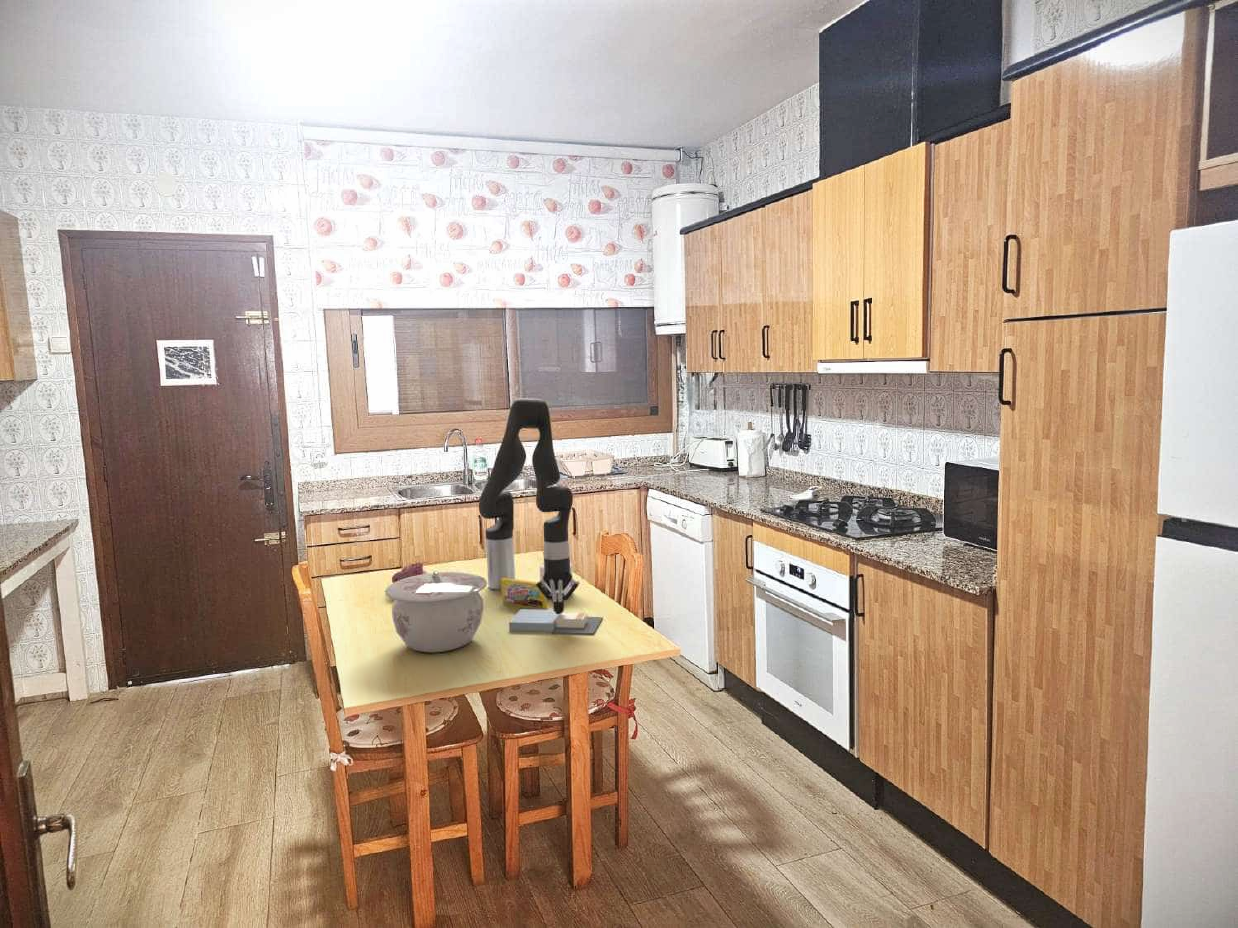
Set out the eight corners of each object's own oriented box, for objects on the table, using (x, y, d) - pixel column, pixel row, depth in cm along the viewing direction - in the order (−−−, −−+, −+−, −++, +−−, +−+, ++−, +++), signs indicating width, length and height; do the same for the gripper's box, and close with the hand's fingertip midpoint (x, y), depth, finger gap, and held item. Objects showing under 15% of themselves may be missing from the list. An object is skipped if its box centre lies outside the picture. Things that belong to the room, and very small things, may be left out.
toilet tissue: (553, 601, 259) (552, 571, 258) (532, 594, 268) (530, 564, 267) (579, 594, 266) (578, 564, 264) (558, 587, 275) (556, 558, 273)
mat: (563, 617, 243) (563, 616, 242) (602, 618, 241) (602, 616, 241) (552, 633, 229) (552, 631, 229) (593, 634, 227) (593, 633, 227)
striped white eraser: (560, 620, 238) (560, 612, 238) (587, 621, 237) (586, 612, 237) (556, 627, 233) (555, 618, 232) (583, 627, 231) (582, 619, 231)
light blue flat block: (521, 617, 244) (520, 609, 244) (562, 618, 242) (562, 610, 242) (509, 630, 232) (508, 622, 232) (553, 631, 230) (553, 623, 230)
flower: (442, 577, 281) (432, 551, 278) (432, 594, 267) (421, 568, 264) (403, 589, 282) (392, 564, 280) (391, 607, 268) (379, 581, 266)
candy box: (501, 604, 258) (500, 579, 257) (505, 602, 260) (504, 577, 259) (544, 610, 251) (543, 584, 249) (548, 608, 252) (546, 582, 251)
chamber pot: (444, 669, 205) (440, 590, 202) (366, 653, 218) (361, 578, 215) (511, 635, 229) (508, 563, 226) (437, 621, 242) (433, 554, 239)
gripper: (581, 552, 236) (583, 609, 238) (537, 552, 238) (540, 608, 240) (576, 558, 229) (578, 618, 231) (531, 558, 231) (533, 616, 233)
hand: (559, 613), depth 236 cm, fingers closed
